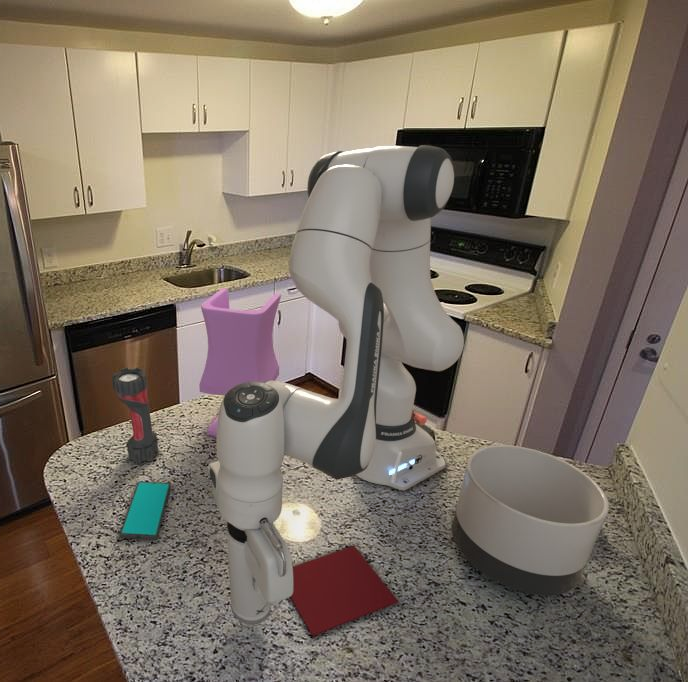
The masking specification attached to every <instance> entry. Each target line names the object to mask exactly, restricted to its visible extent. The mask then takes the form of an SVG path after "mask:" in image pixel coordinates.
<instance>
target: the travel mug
mask: <svg viewBox="0 0 688 682" xmlns="http://www.w3.org/2000/svg"><path fill="white" fill-rule="evenodd" d="M226 534H227V536H226V537H227V553H228V555H227V556H228V573H229V574H228V575H229V593H230V608H231V609H230V610H231V612H232V614H233V616H234V617H235V618H236V620H237V621H238V622H241V623H243V624H244V625H245V624H246V625H249V626H254V625H259V624H261V623H263V622H265V621H266V620H267V619H268V618H269V616H270V614H271V611H272V603H268V602H267V601H266V600H265V598H264V596H263V594H262V593H261V594H257V593H256V592H255V589H254V587H253V585H252V583H253V582H252V578H254V577H253V575H252V573H251V571H250V569H249V567H248V565H247V563H246V561H245V547H244V546H245V541H247V535H246V533H245V531H243V530H240V529H238V528H236V527H235V526H233V525H232V524H230V523H229V522H227V524H226Z"/></svg>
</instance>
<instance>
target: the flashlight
mask: <svg viewBox="0 0 688 682" xmlns="http://www.w3.org/2000/svg"><path fill="white" fill-rule="evenodd" d="M111 380H112V381H111V382H112V389H113V391H114V392H115V396H116V398H117V399H118V400H119V401H120V402H122V403H123V404H124V405H126V407H128V409H129V417H130V422H131V426H132V427H131V428H132V436H131V437H130V438H129V439H128V441H127V442H126V443H125V445H126V450H127V455H128V460H129V461H133V462H135V464H141V463H142V462H145V461H147V463H149V462H152V461H153V460H154V457H156V456H159V454H160V453H159V442H158V437H157V433H156V432H154V431H153V428H152V427H153V426H152V419H151V411H150V405H149V393H148V381H147V374H146V372H144V371H143V368H141V367H138V366H137V367H135V368H129V367H123V368H121V369H120V371H119V372H113V373H112V376H111Z"/></svg>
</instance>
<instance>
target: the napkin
mask: <svg viewBox="0 0 688 682" xmlns="http://www.w3.org/2000/svg"><path fill="white" fill-rule="evenodd" d="M289 598H290V600H291V601H292V603H293V605H294V606H295V609H296V610H297V611H298V612H297V613H298V614H299V615H300V617H301V619H302V621H303V622H304V624H305V626H306V628H307V629H308V632H309V633H310V634H311V636H312V637H315V636H318V635H320V634H322V633H326V632H327V631H330V630H333V629H335V628H338V627H340V626H342V625H345V624H347V623H350V622H353V621H356V620H358V619H360V618H363V617H366V616H367V615H370V614H373V613H376V612H377V611H380V610H382V609H383V610H384V609H385V608H389V607H391V606H394V605H395V604H398V603H399V600H398V599H397V597H396V596H395V595H394V594H393V592H392V591H391V590H390V589H389V587H388V586H387V585H386V583H385V582H384V581H383V580H382V579H381V578H380V576H379V575H378V573H377V572H376V571H375V570H374V568H372V566H371V564H370V563H368V561H367V560H366V559H365V557H364V556H363V555H362V554H361V552H360V551H359V550H358V549H357V548H356V546H355V545H352V546H349V547H346V548H343V549H340V550H337V551H334V552H331V553H327V554H325V555H323V556H322V555H321V556H320V557H315V558H314V559H311V560H308V561H305V562H302V563H298V564H296V565H293V594H292V596H290V597H289Z"/></svg>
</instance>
